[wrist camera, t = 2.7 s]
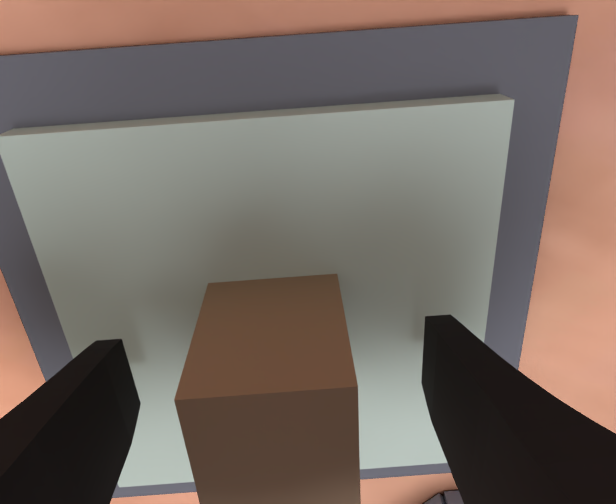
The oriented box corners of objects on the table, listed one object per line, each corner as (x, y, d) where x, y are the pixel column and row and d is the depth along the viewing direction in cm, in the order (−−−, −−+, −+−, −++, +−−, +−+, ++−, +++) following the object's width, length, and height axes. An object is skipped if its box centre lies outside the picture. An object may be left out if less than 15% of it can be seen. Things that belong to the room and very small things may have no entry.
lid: (13, 128, 11) (-165, 206, 7) (500, 93, 11) (635, 149, 7) (126, 465, 16) (67, 635, 12) (461, 440, 16) (524, 600, 12)
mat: (-70, 60, 11) (-82, 62, 10) (569, 14, 11) (578, 14, 10) (97, 489, 17) (92, 499, 17) (496, 459, 17) (501, 468, 17)
